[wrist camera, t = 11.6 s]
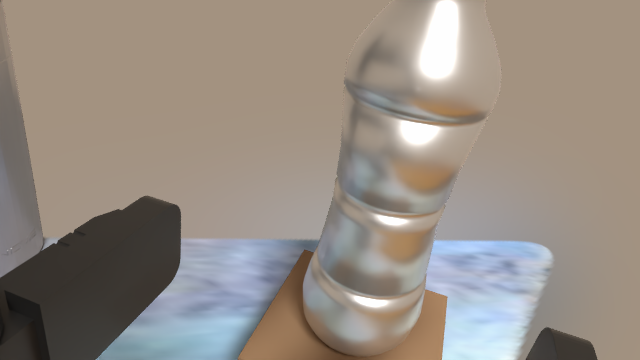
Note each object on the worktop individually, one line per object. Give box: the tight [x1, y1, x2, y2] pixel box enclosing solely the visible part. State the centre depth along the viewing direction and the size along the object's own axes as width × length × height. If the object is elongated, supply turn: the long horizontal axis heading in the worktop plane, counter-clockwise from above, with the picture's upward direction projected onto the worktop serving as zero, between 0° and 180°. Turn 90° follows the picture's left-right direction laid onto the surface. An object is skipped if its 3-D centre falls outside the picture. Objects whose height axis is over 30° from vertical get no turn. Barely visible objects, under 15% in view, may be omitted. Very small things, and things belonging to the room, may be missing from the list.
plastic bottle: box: [303, 0, 502, 357], centre depth 21 cm, size 6×7×20 cm
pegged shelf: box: [238, 250, 447, 360], centre depth 27 cm, size 10×10×4 cm
